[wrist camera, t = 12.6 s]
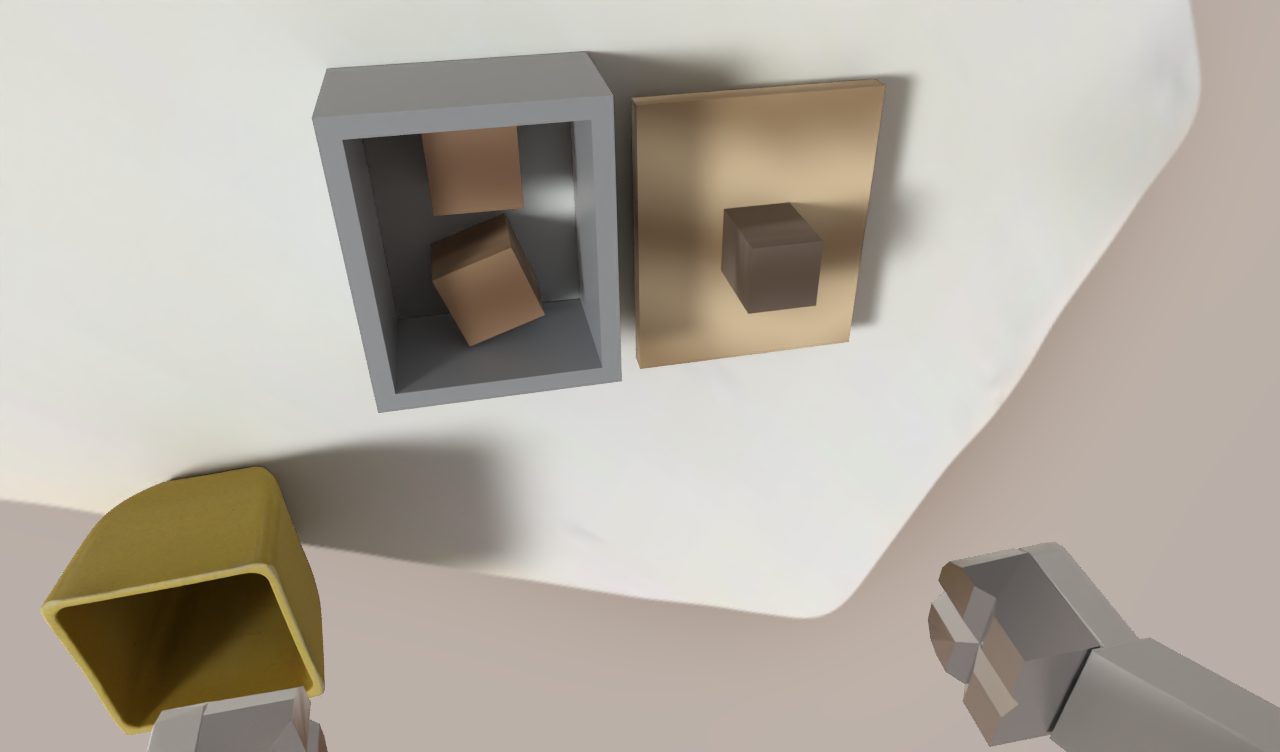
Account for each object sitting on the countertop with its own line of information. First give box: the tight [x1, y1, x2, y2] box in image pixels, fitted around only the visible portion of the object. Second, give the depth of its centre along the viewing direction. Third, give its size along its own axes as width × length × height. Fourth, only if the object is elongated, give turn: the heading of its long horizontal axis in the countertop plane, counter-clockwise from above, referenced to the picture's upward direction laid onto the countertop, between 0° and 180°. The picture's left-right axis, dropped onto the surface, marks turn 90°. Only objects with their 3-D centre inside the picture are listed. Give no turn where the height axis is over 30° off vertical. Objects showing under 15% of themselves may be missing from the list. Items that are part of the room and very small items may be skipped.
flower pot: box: [40, 467, 325, 735], centre depth 40 cm, size 9×9×9 cm
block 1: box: [421, 126, 524, 216], centre depth 35 cm, size 4×4×4 cm
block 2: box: [431, 214, 545, 346], centre depth 38 cm, size 4×4×4 cm
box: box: [312, 51, 622, 413], centre depth 35 cm, size 12×10×6 cm
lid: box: [632, 79, 885, 369], centre depth 39 cm, size 13×11×6 cm
